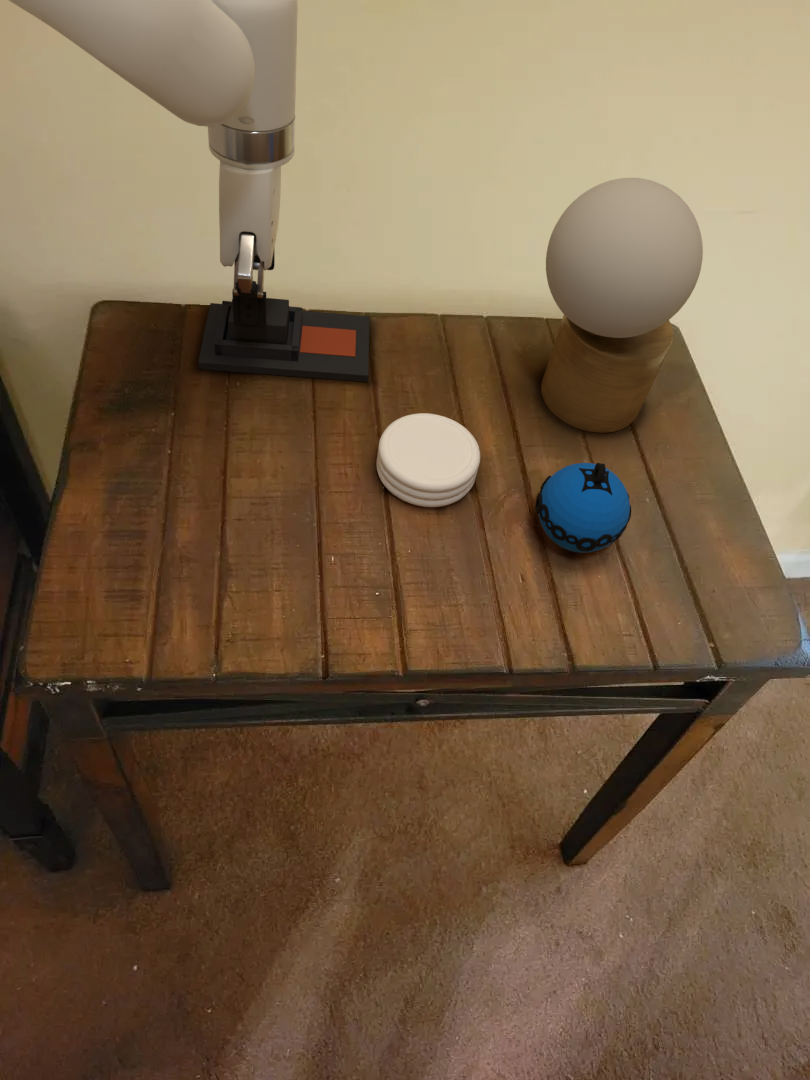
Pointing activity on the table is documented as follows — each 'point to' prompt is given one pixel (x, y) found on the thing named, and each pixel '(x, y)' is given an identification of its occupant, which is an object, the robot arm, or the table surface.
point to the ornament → (583, 507)
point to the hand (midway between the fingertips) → (254, 295)
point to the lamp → (616, 298)
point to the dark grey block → (274, 326)
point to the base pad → (292, 347)
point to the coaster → (427, 460)
